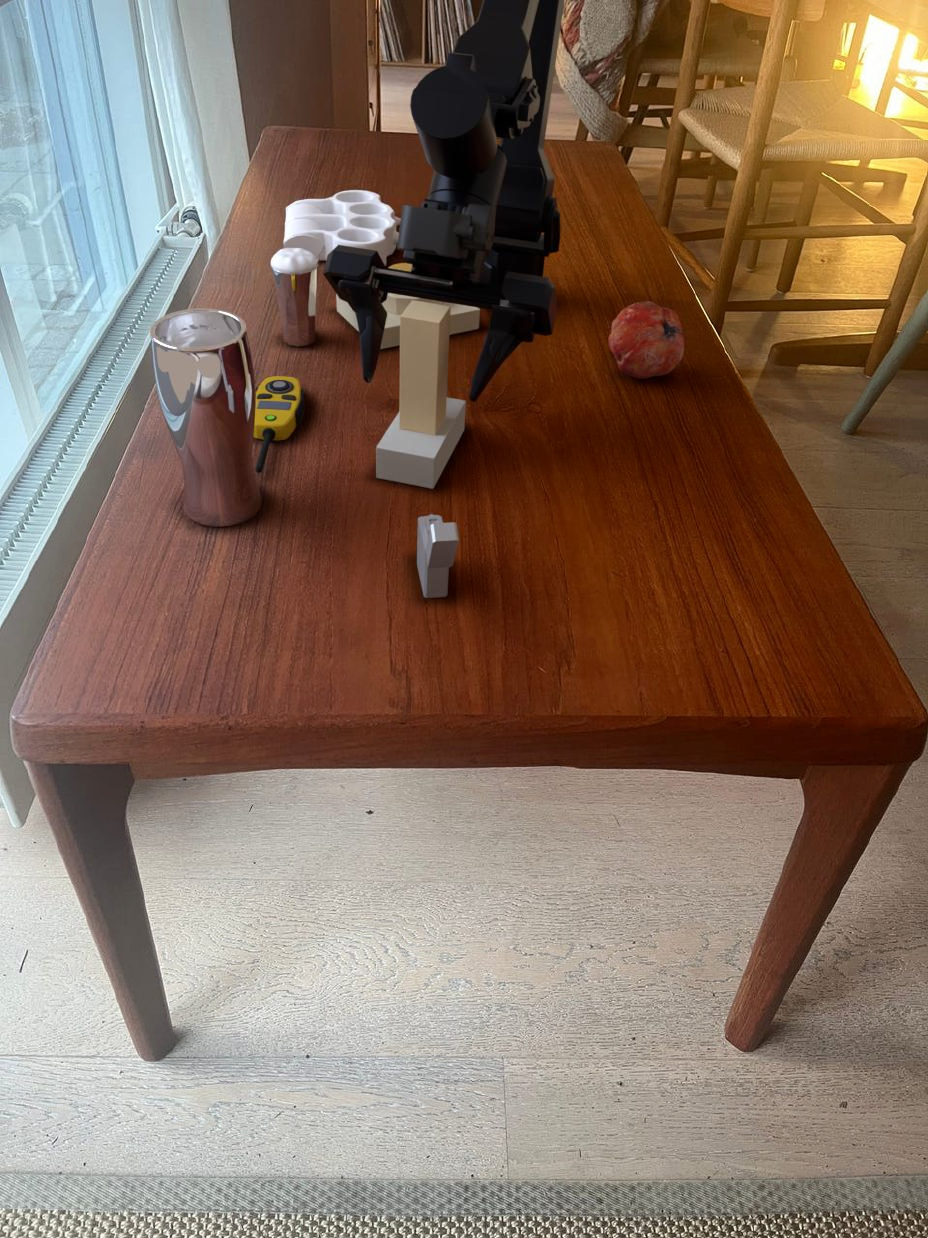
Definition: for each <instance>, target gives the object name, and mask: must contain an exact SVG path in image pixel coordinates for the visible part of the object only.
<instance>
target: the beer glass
mask: <svg viewBox="0 0 928 1238" xmlns="http://www.w3.org/2000/svg"><path fill="white" fill-rule="evenodd" d="M149 335H150V339H151V340H150V341H151V350H152V352H151V353H152V362H153V373H154V381H155V387H156V392H157V396H158V401H159V404H160V405H159V406H160V408H161V411H162V415H163V417H164V420H165V421H164V422H165V424H166V426H167V429H168V431H169V434H170V437H171V439H172V442H173V444H174V447H175V450H176V452H177V455H178V458H179V461H180V464H181V467H182V468H181V469H182V473H183V500H182V501H183V510H184V513H185V514H186V516H187V517H188V518H189V519H190V520H192V521H194V522H196V523H197V524H200V525H203V526H205V527H214V528H223V527H224V528H225V527H231V526H236V525H240V524H242V523H244V522H247V521H249V520H251V518H253V517H254V516H256V515H257V513H259V511H260V509H261V507H262V502H263V501H262V494H261V491H260V488H259V485H258V482H257V478H256V475H255V472H254V466H253V445H254V425H255V413H256V377H255V370H254V363H253V358H252V353H251V352H252V351H251V347H250V342H249V337H248V333H247V323H246V322H245V321H244V319H243V318H241V317H240V316H238V315H237V314H235V313H233V312H231V311H227V310H222V309H218V308H208V307H207V308H206V307H201V308H196V307H195V308H188V309H181V310H178V311H177V310H176V311H173V312H170V313H167V314H165V315H163V316H161V317H160V318H158V319H157V320H156V321H154V322H153V323H152V325H151V327H150V329H149Z"/></svg>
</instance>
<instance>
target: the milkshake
mask: <svg viewBox="0 0 928 1238" xmlns="http://www.w3.org/2000/svg"><path fill="white" fill-rule="evenodd" d="M323 249H324V246H323V248H322V251H323ZM322 251H321V254H322ZM321 254H320V256H319V259H320V257H321ZM319 259H318V260H317V258H316V257H315V256H314V255H313V254H312V253H311V252H309V251H306V250H304V249H302V248H284V247H283V248H281V249H279V250H278V251H277V252H275V254H274V255H273V256H272V257H271V259H270V268H271V274H272V279H273V284H274V285H273V286H274V290H275V295H276V301H277V307H278V313H279V320H280V327H281V333H282V339H283V342H284V343H285V344H287V345H289V346H291V347H298V348H301V347H308V346H311V345H312V344H314V343H315V342H316V309H317V308H316V305H317V288H318V274H319V273H318V272H319V271H318V270H319V262H320V260H319Z"/></svg>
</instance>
